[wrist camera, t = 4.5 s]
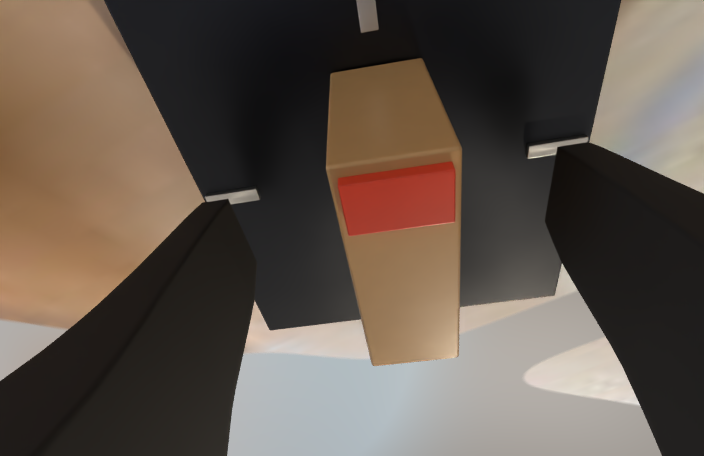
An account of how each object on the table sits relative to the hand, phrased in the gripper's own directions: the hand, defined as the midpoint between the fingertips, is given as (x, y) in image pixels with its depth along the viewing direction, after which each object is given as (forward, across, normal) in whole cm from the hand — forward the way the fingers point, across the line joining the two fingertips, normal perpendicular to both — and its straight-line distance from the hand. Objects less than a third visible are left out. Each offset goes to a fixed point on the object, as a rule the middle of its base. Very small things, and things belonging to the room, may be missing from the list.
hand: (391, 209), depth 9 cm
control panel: (+5, 0, 0) cm, 5 cm away
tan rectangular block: (+2, 0, 0) cm, 2 cm away
